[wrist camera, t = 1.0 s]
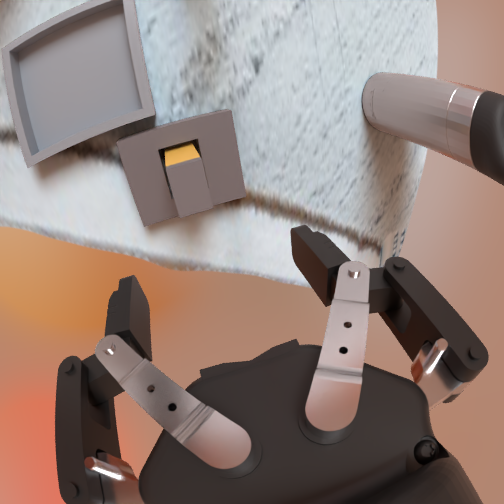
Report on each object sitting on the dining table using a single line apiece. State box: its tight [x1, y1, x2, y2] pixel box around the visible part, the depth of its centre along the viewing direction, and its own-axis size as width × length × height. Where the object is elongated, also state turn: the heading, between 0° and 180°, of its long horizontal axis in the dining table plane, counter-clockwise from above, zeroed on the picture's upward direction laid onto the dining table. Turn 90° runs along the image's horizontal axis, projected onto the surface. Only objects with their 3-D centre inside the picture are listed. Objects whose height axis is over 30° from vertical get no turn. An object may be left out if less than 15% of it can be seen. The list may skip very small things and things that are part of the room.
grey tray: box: [2, 0, 156, 168], centre depth 18 cm, size 15×15×3 cm
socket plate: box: [116, 109, 246, 227], centre depth 28 cm, size 12×10×2 cm
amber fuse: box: [165, 142, 213, 218], centre depth 26 cm, size 3×4×9 cm, turn 9°
